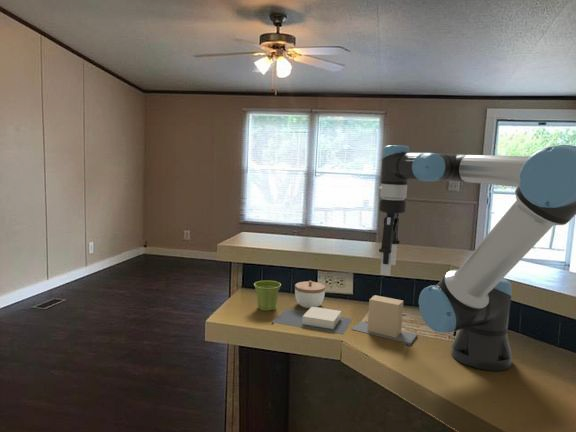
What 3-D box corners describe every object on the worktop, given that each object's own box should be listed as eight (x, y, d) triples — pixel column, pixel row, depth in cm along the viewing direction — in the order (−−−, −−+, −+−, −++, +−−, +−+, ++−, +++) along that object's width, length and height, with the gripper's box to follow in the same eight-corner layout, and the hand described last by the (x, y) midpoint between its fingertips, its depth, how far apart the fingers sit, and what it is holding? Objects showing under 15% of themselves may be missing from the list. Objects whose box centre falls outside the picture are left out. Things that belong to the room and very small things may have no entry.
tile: (341, 310, 146) (311, 306, 149) (333, 321, 137) (302, 316, 140) (340, 319, 146) (311, 314, 150) (333, 330, 137) (302, 324, 140)
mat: (352, 320, 147) (352, 318, 147) (343, 336, 134) (343, 334, 134) (286, 310, 155) (286, 308, 155) (271, 324, 142) (271, 322, 142)
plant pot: (249, 310, 153) (249, 286, 152) (258, 302, 162) (259, 279, 161) (275, 314, 150) (276, 289, 149) (283, 305, 159) (284, 282, 158)
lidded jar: (325, 312, 154) (326, 286, 153) (294, 311, 154) (295, 284, 153) (323, 302, 165) (324, 277, 163) (294, 301, 165) (295, 276, 163)
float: (417, 337, 136) (419, 302, 135) (410, 346, 129) (412, 309, 128) (360, 324, 145) (362, 291, 143) (351, 332, 138) (353, 297, 137)
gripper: (385, 195, 144) (381, 259, 147) (373, 201, 121) (368, 277, 124) (409, 196, 142) (405, 262, 145) (401, 203, 119) (396, 281, 121)
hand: (388, 269), depth 134 cm, fingers open, 13 cm apart
